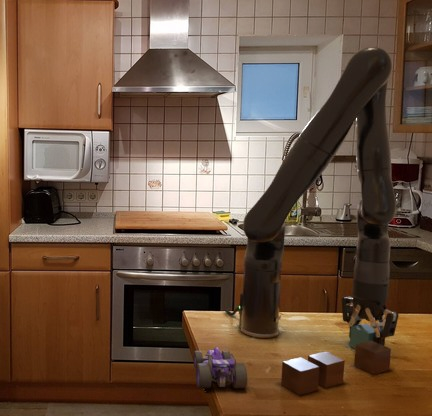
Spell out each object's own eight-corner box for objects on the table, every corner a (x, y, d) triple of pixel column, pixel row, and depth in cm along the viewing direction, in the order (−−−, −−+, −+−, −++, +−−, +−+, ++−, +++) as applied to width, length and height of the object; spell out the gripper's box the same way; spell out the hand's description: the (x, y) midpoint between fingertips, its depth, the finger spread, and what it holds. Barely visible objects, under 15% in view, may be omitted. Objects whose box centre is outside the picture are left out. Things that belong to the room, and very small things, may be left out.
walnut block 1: (281, 384, 107) (282, 361, 107) (299, 379, 109) (300, 357, 109) (299, 395, 103) (300, 371, 102) (318, 390, 105) (319, 366, 104)
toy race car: (229, 360, 119) (230, 332, 118) (247, 392, 104) (248, 361, 103) (187, 360, 119) (188, 332, 118) (199, 392, 104) (200, 361, 103)
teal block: (349, 346, 127) (350, 326, 126) (364, 342, 129) (365, 323, 128) (367, 354, 122) (368, 333, 121) (382, 350, 124) (383, 330, 124)
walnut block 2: (306, 377, 110) (307, 355, 110) (324, 373, 112) (325, 351, 112) (325, 388, 106) (326, 364, 105) (343, 383, 108) (344, 360, 107)
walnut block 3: (353, 365, 116) (355, 344, 115) (369, 361, 118) (371, 340, 118) (373, 374, 112) (375, 352, 111) (389, 370, 114) (391, 348, 113)
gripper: (334, 272, 128) (330, 338, 130) (387, 288, 115) (381, 360, 117) (356, 269, 131) (352, 333, 133) (410, 284, 118) (404, 354, 121)
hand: (366, 345), depth 125 cm, fingers open, 6 cm apart
